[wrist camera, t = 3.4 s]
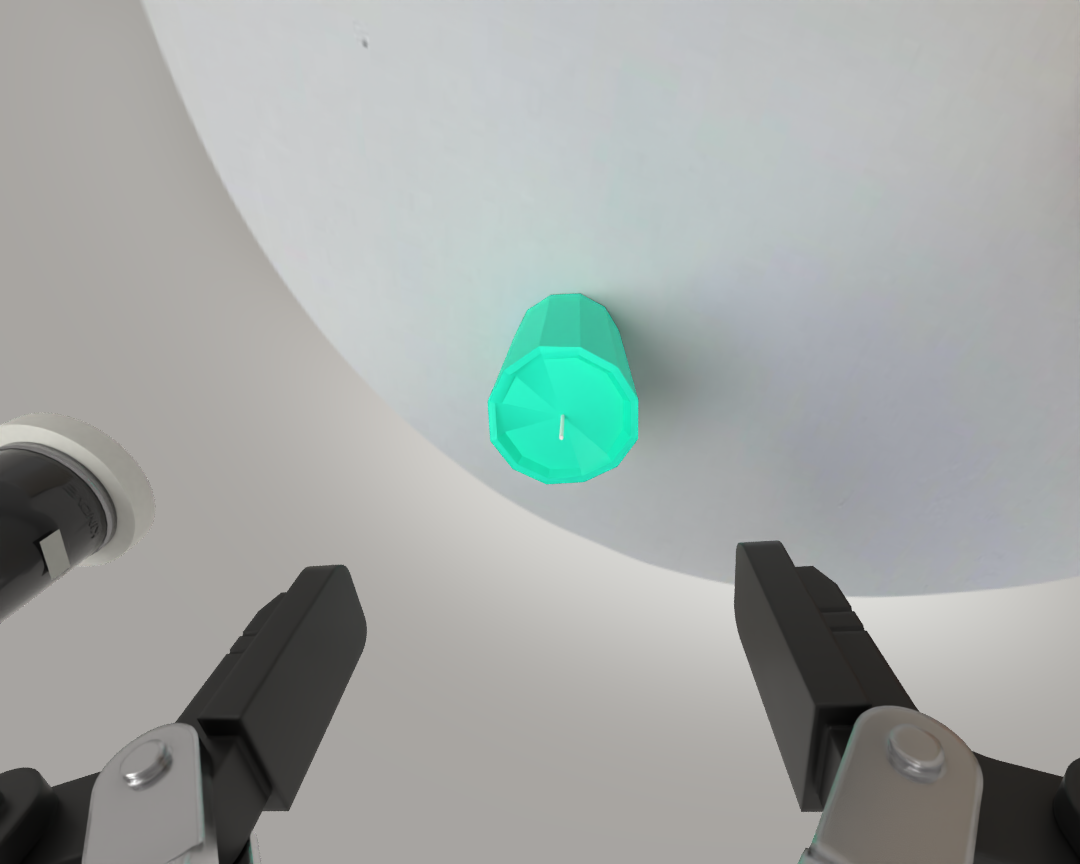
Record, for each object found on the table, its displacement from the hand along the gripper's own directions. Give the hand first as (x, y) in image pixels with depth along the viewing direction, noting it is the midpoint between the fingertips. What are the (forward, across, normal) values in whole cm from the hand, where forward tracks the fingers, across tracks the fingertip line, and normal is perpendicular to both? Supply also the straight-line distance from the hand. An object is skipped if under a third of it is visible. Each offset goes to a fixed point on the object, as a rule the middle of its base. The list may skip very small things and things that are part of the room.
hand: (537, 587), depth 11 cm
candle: (+21, 0, +1) cm, 21 cm away
